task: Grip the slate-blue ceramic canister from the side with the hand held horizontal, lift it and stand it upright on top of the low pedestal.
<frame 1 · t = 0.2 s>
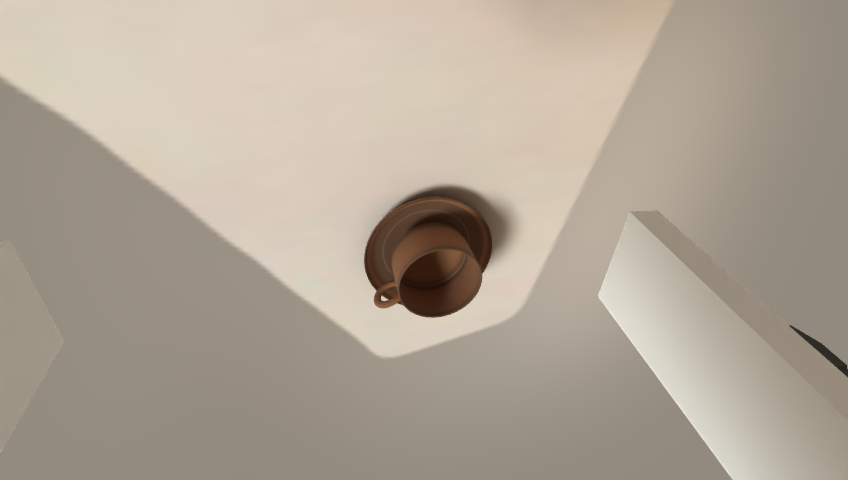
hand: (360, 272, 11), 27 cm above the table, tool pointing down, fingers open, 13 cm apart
cup and saucer: (424, 244, 44), on the table
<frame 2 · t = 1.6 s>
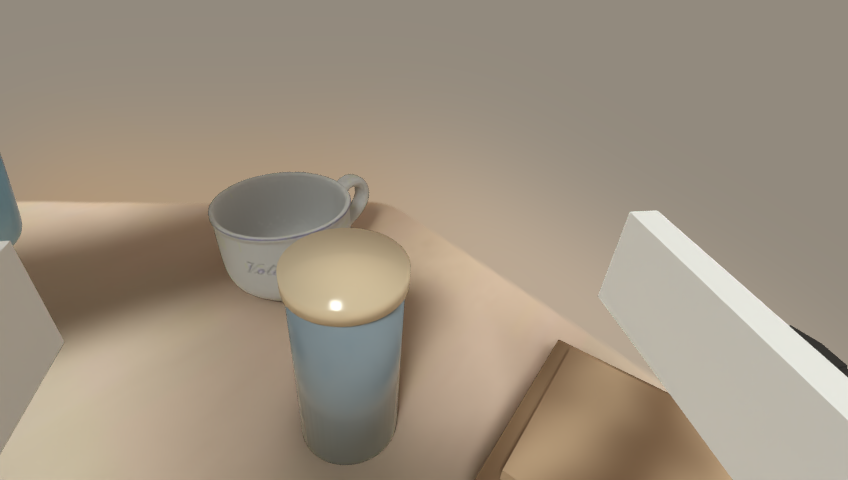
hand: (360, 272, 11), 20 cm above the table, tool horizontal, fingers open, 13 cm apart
teacup: (307, 272, 42), on the table
canister: (349, 419, 30), on the table
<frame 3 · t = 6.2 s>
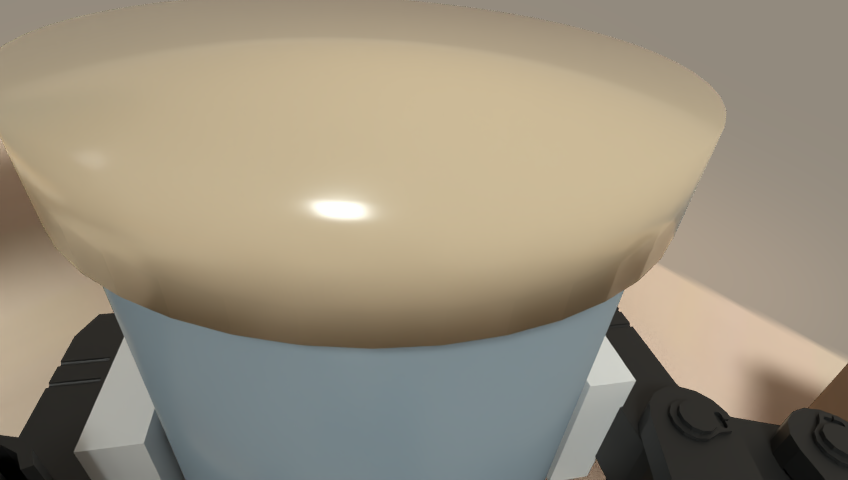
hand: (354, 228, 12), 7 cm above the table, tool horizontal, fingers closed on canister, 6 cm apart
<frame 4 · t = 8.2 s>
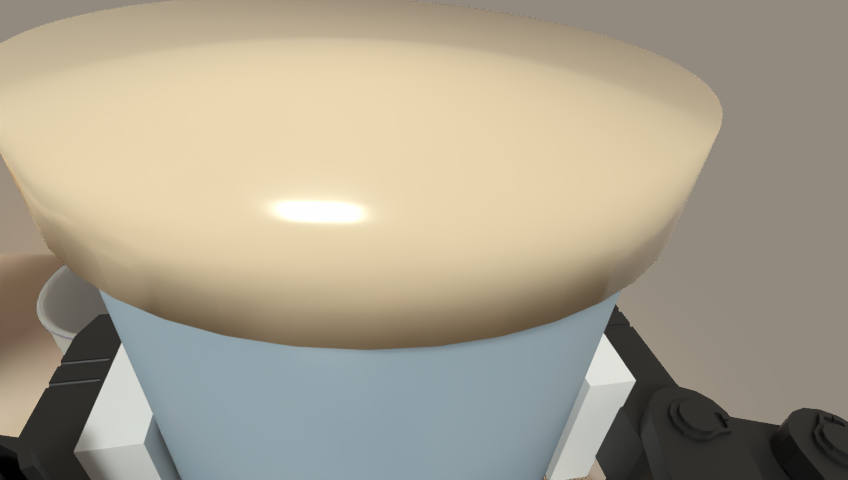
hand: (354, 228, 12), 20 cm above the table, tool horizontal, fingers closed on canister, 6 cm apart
teacup: (199, 350, 33), on the table
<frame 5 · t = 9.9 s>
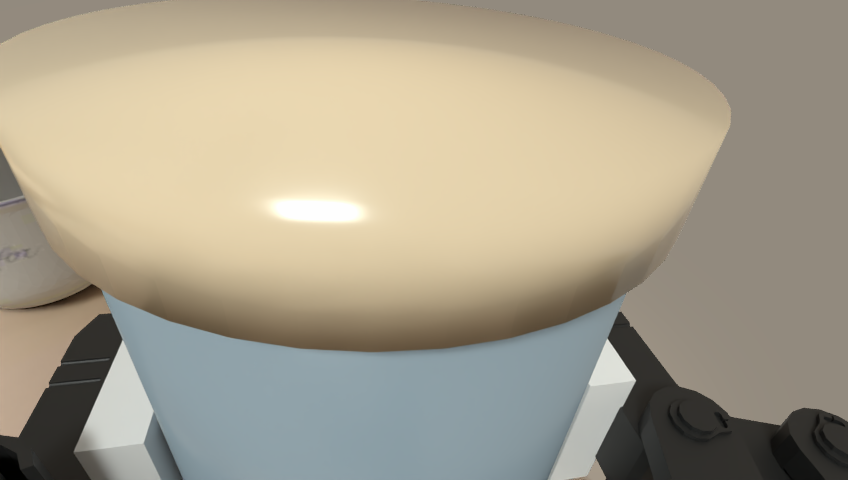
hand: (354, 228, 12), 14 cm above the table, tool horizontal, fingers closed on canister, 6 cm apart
teacup: (78, 268, 31), on the table
when the fingers open (13 cm above the table, at t = 10.4 s): canister drops 1 cm, resting on pedestal.
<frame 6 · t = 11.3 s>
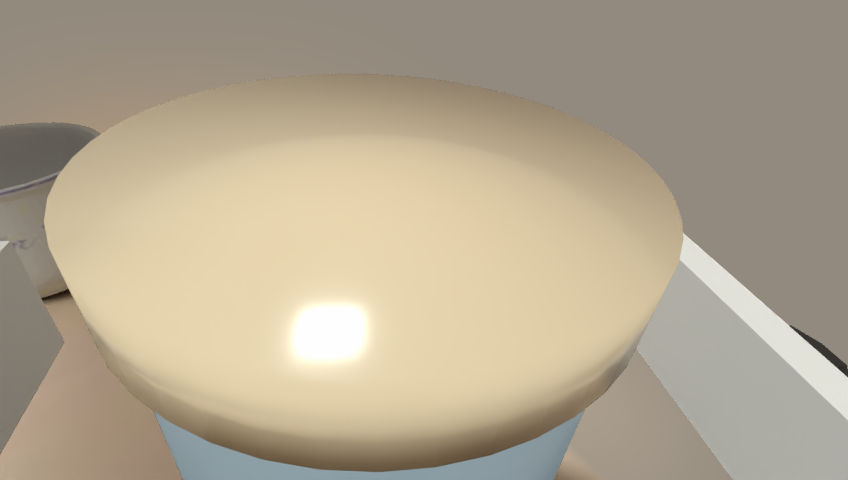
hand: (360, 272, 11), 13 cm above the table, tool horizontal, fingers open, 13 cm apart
teacup: (76, 262, 30), on the table
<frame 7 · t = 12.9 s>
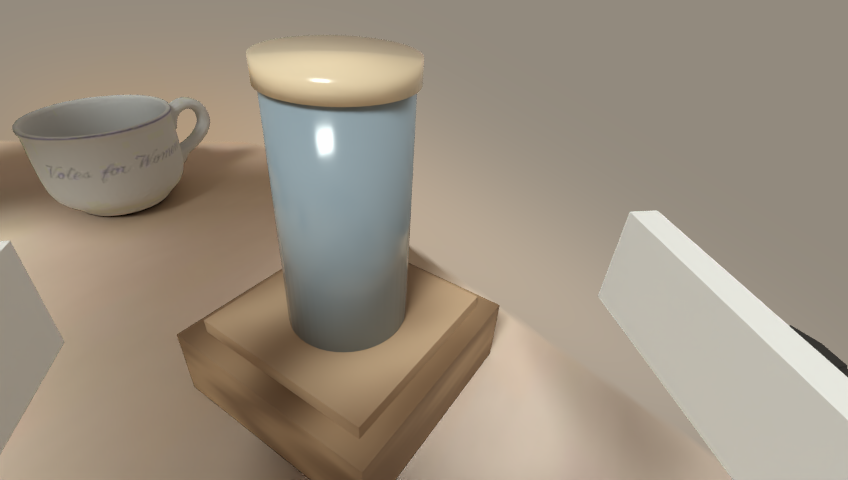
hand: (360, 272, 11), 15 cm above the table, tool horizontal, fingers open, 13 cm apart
teacup: (146, 195, 42), on the table
canister: (348, 308, 24), point 5 cm above the table, touching pedestal
pedestal: (350, 368, 27), on the table
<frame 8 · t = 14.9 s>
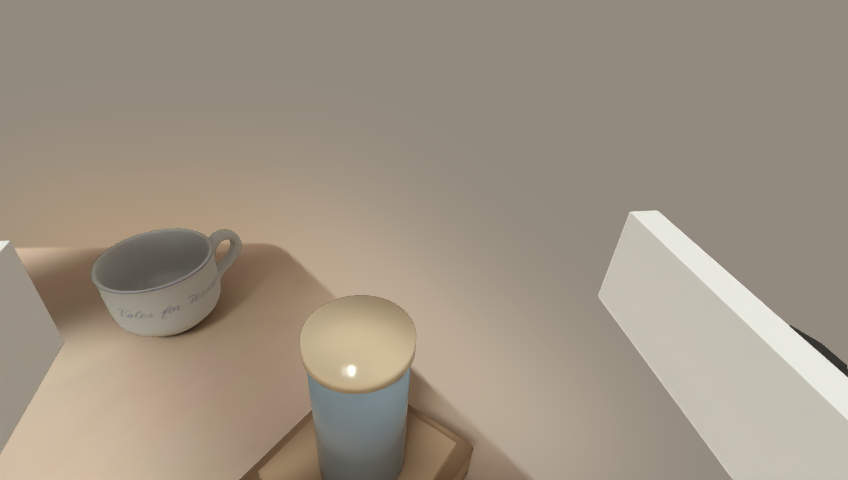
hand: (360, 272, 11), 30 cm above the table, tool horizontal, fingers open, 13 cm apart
teacup: (189, 309, 51), on the table
canister: (361, 457, 33), point 5 cm above the table, touching pedestal
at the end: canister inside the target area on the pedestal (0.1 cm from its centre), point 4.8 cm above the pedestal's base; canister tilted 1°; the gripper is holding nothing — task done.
